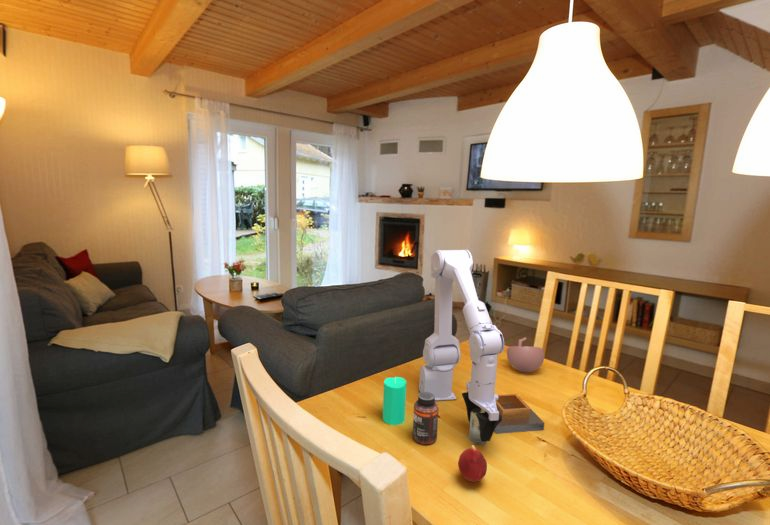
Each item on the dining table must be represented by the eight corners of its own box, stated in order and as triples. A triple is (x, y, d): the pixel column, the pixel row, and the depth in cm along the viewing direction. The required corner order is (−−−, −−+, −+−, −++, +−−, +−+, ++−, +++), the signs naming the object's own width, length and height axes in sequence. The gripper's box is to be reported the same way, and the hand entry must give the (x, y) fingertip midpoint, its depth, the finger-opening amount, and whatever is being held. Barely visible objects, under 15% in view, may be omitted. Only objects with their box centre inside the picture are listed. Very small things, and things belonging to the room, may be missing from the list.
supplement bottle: (436, 431, 97) (439, 390, 95) (437, 447, 91) (440, 403, 89) (412, 429, 97) (414, 388, 95) (411, 444, 92) (414, 400, 89)
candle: (407, 414, 104) (409, 373, 102) (402, 427, 98) (404, 383, 96) (385, 410, 105) (387, 369, 103) (379, 422, 100) (381, 379, 98)
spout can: (472, 445, 92) (475, 419, 91) (466, 434, 96) (468, 408, 95) (497, 443, 93) (500, 417, 92) (489, 432, 97) (492, 407, 96)
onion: (490, 480, 81) (493, 446, 79) (476, 495, 77) (480, 459, 75) (466, 466, 85) (468, 434, 83) (451, 480, 80) (454, 446, 79)
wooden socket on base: (496, 433, 97) (497, 417, 96) (475, 405, 109) (477, 391, 109) (543, 430, 99) (545, 414, 98) (518, 402, 112) (519, 388, 111)
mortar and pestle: (535, 363, 138) (538, 333, 136) (547, 379, 126) (551, 346, 124) (501, 362, 139) (504, 331, 137) (510, 377, 127) (514, 345, 125)
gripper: (513, 393, 85) (508, 448, 88) (486, 364, 99) (482, 413, 102) (483, 395, 84) (479, 451, 86) (460, 366, 98) (456, 414, 100)
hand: (478, 430), depth 94 cm, fingers open, 7 cm apart
